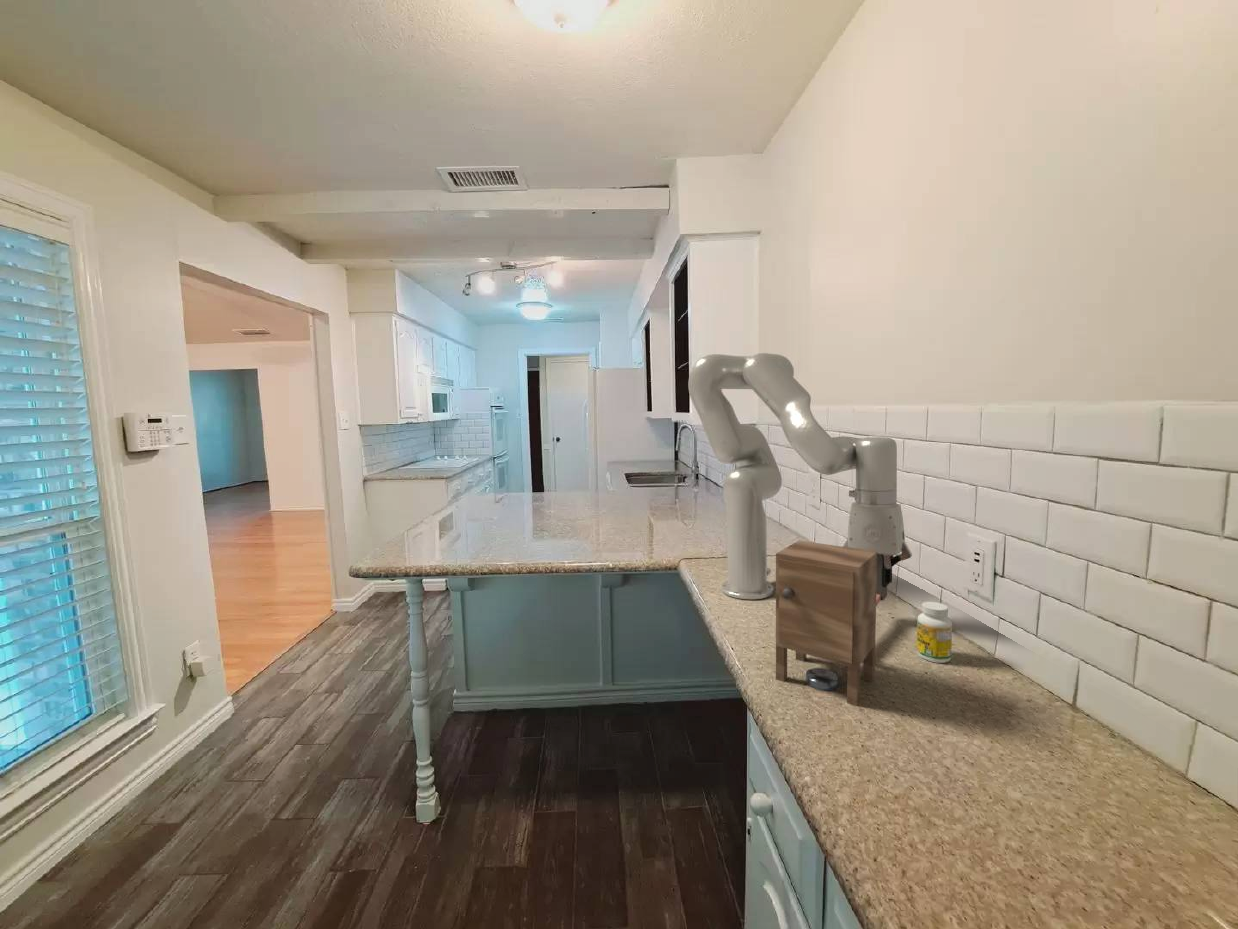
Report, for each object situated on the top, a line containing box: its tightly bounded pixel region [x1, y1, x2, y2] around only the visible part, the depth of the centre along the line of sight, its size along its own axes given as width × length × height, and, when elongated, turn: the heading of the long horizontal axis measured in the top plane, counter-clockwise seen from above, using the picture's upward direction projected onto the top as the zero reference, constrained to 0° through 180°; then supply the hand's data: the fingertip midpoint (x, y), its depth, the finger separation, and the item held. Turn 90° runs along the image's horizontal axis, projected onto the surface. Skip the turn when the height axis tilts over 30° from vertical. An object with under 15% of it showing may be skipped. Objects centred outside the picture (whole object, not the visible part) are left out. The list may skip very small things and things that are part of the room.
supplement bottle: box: [916, 601, 953, 664], centre depth 93 cm, size 5×5×10 cm
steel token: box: [805, 667, 839, 692], centre depth 86 cm, size 5×5×2 cm
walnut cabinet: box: [775, 540, 877, 706], centre depth 85 cm, size 12×13×22 cm
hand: (876, 583), depth 107 cm, fingers closed on rake, 3 cm apart
